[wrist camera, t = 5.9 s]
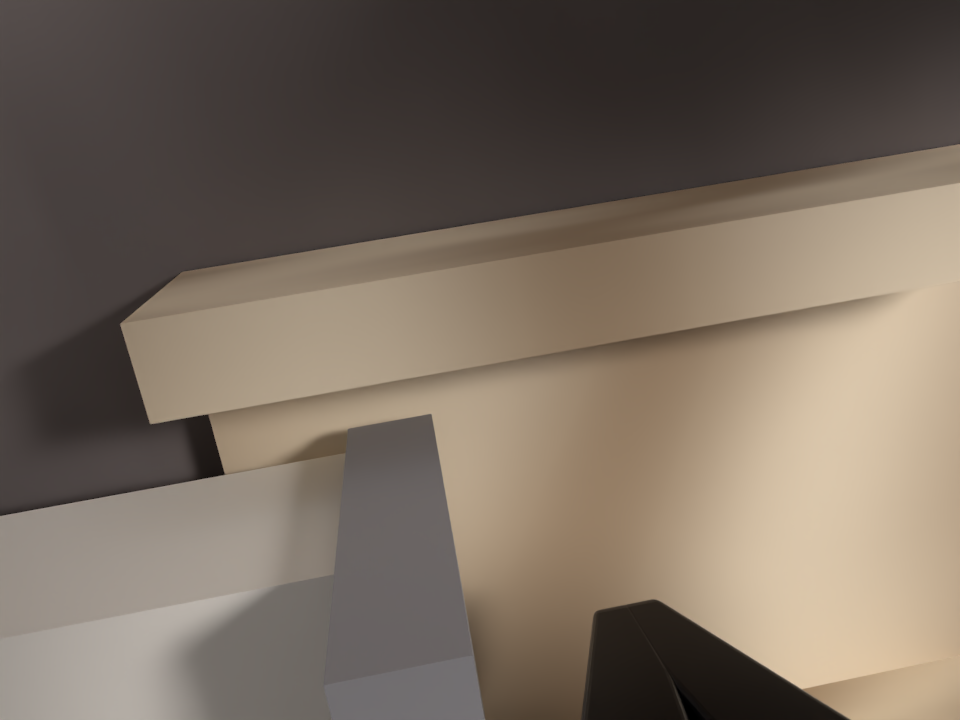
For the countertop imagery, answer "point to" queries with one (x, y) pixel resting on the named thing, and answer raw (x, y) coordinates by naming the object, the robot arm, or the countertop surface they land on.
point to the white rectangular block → (246, 595)
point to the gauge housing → (638, 416)
